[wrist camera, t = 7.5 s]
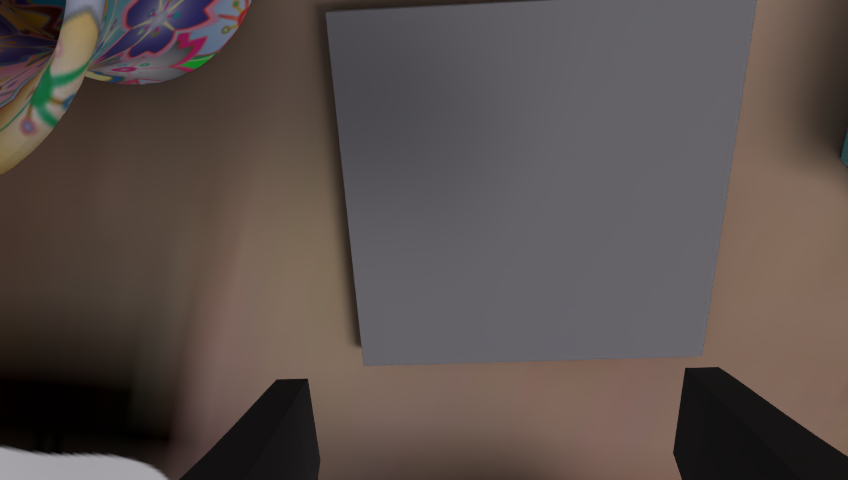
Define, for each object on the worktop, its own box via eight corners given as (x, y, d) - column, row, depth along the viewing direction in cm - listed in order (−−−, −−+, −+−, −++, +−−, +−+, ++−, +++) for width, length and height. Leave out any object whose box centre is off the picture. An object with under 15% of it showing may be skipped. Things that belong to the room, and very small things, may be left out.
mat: (691, 340, 23) (701, 356, 22) (366, 350, 23) (363, 366, 22) (742, -12, 18) (758, -11, 17) (330, 10, 18) (325, 12, 17)
